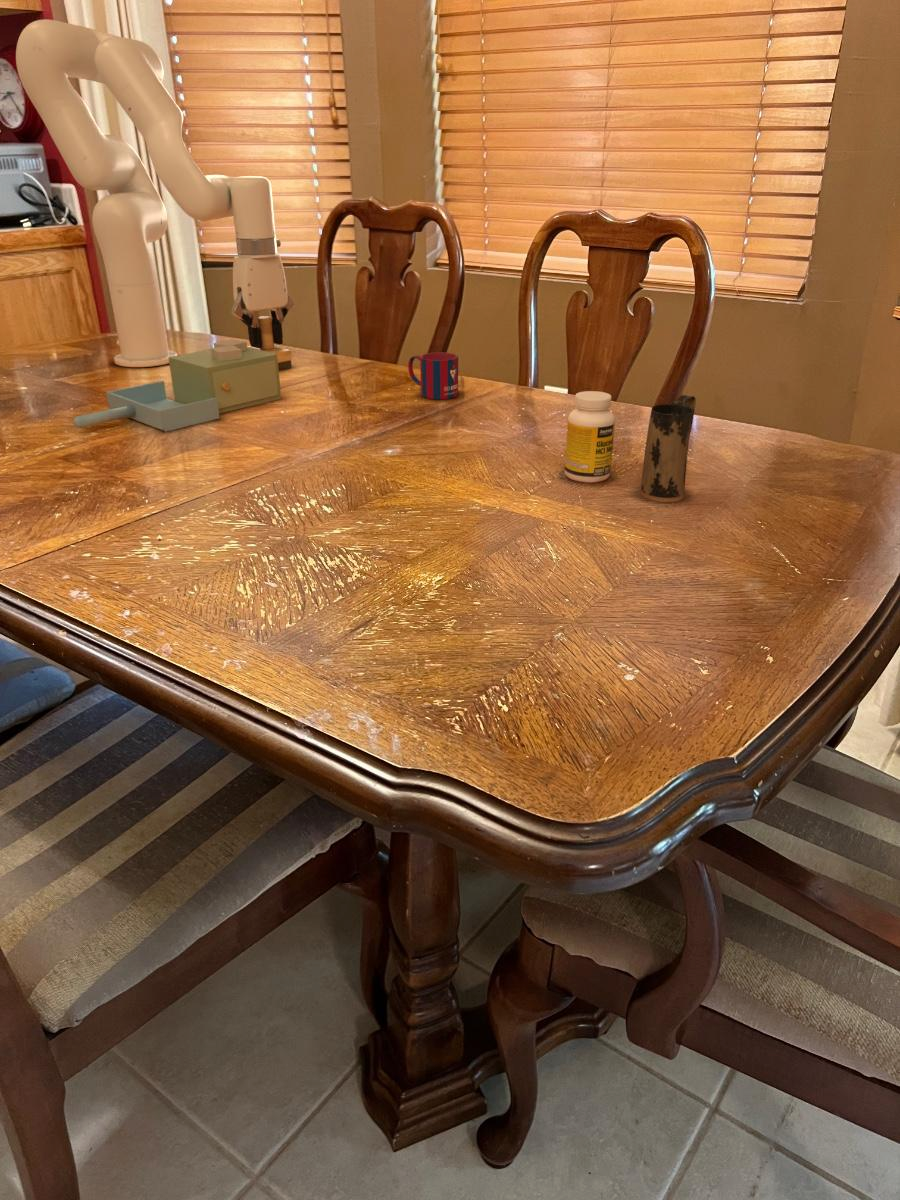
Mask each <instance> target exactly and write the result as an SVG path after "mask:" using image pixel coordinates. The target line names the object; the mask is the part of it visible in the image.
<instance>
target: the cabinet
mask: <svg viewBox="0 0 900 1200" xmlns="http://www.w3.org/2000/svg"><path fill="white" fill-rule="evenodd" d="M168 358H169V363H168V364H169V371H170V377H171V383H172V389H173V390H172V391H173V396H174V401H176V402H179V403H182V404H189V403H194V402H198V401H203V400H207V399H212V398H217V403H218V410H219V415H221V414H225V413H228V412H232V411H235V410H241V409H244V408H248V407H249V408H250V407H253V406H257V405H261V404H265V403H270V402H274V401H279V400H282V391H281V390H282V389H281V383H280V381H281V380H280V372H279V371H280V370H279V369H278V359H277V354H273V353H269V352H265V351H261V350H257V349H253V348H249V347H247V351H243V352H242V359H235V360H227V361H218V360H216V359H215V358H213V357H212V353H211V348H210V349H207V350H201V351H200V350H199V351H195V352H190V353H184V354H183V353H182V354H177V356H172V357H168Z"/></svg>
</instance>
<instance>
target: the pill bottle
mask: <svg viewBox="0 0 900 1200" xmlns="http://www.w3.org/2000/svg"><path fill="white" fill-rule="evenodd" d="M574 398H575V399H574V406H575V409H573V410H571V412H570V413H569V414H568V415H567V416H568V417H567V424H566V425H567V427H566V442H565V457H564V469H563V470H564V471H563V472H564V475H565V476H566V478H568V479H569V480H572V481H575V482H579V483H587V484H594V483H600V482H603V481H606V480H607V479H608V478H609V477H610V475H611V471H612V470H611V468H612V460H613V459H612V458H613V449H614V438H615V437H614V436H615V428H616V417H615V415H614V413H613V412H612V411H610V410H609V409H610V408H611V406H612V395H611V394H610V393H607V392H604V391H598V390H597V391H594V390H586V391H579V392H576V393H575V395H574Z"/></svg>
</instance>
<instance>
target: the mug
mask: <svg viewBox="0 0 900 1200" xmlns="http://www.w3.org/2000/svg"><path fill="white" fill-rule="evenodd" d="M696 402H697V401H696V397H695V396H694V395H687V394H682V395H680V396H679V397H678V398H677V399H676V400H674V401H673V402H672V403H665V404H656V405H654V406H652V407H651V411H650V416H649V421H648V427H647V434H646V440H645V448H644V456H643V465H642V472H641V484H640V485H641V486H640V495H641V496H642V498H645V499H646V500H649V501H653V502H659V503H674V502H678V501H681V500H683V499H684V498H685V494H686V493H685V490H686V473H687V465H688V464H687V463H688V451H689V445H690V444H689V443H690V437H691V432H692V427H693V422H694V416H695V408H696V405H697V404H696Z"/></svg>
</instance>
